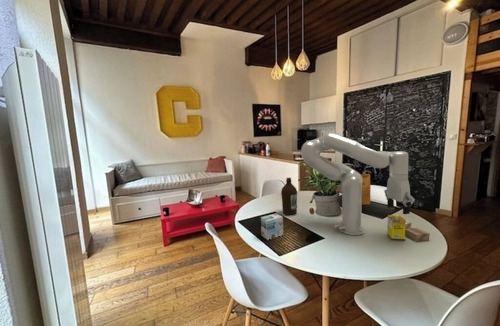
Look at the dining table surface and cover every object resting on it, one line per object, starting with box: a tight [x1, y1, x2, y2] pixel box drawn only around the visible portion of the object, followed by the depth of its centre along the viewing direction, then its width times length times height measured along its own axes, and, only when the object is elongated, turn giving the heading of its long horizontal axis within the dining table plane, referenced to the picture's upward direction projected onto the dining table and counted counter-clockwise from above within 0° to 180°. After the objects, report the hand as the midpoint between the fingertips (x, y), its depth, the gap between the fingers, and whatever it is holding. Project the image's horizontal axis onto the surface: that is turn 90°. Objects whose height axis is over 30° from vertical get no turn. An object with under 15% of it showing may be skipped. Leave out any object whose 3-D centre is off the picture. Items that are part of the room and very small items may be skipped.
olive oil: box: [280, 177, 298, 216], centre depth 152 cm, size 11×11×25 cm
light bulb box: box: [260, 213, 284, 241], centre depth 122 cm, size 11×7×11 cm, turn 117°
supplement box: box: [386, 214, 407, 241], centre depth 112 cm, size 6×6×11 cm
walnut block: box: [405, 227, 431, 243], centre depth 111 cm, size 7×7×4 cm
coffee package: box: [360, 173, 372, 206], centre depth 165 cm, size 10×12×22 cm
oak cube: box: [405, 220, 412, 229], centre depth 120 cm, size 5×5×5 cm
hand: (398, 210), depth 111 cm, fingers open, 9 cm apart
